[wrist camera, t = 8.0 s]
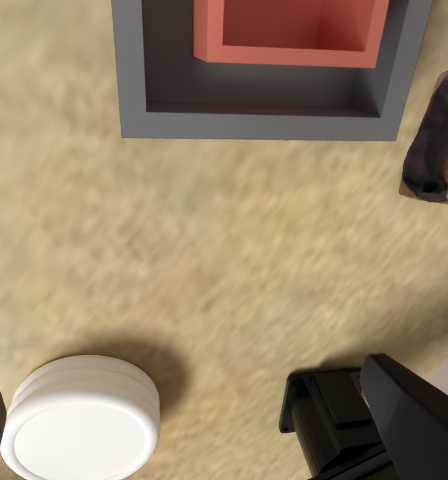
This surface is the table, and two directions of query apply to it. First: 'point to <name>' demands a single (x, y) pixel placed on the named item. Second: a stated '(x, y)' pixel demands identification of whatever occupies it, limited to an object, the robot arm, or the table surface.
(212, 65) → the big crate
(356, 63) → the small crate
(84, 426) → the white round container
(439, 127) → the bread roll
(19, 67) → the table surface
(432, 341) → the table surface
